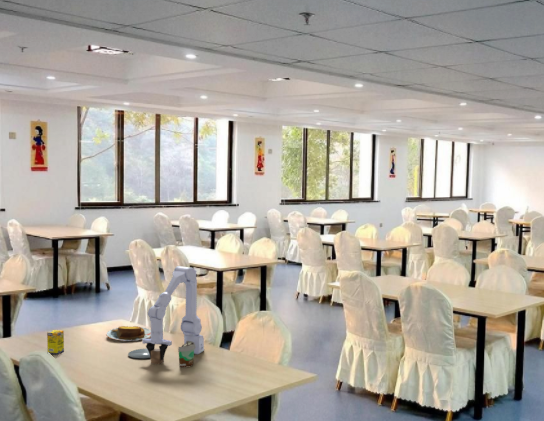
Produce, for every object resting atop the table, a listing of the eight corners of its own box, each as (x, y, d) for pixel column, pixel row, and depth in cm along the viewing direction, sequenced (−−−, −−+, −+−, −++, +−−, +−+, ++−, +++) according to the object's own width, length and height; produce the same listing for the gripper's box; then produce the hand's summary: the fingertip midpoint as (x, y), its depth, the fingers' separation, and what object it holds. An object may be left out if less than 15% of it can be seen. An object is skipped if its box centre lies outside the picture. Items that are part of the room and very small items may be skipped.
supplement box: (57, 354, 335) (57, 333, 334) (47, 354, 337) (46, 332, 336) (64, 351, 341) (63, 330, 340) (54, 350, 342) (53, 329, 342)
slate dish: (166, 351, 339) (166, 349, 339) (151, 360, 324) (151, 358, 324) (138, 349, 344) (138, 347, 344) (122, 358, 329) (122, 356, 329)
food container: (191, 369, 311) (190, 347, 310) (178, 368, 312) (178, 347, 311) (199, 361, 323) (198, 340, 322) (187, 360, 324) (186, 340, 323)
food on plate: (150, 330, 385) (150, 319, 385) (156, 341, 362) (156, 329, 361) (104, 333, 378) (104, 322, 377) (107, 345, 354) (107, 332, 354)
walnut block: (163, 361, 323) (163, 349, 322) (159, 364, 318) (159, 351, 318) (155, 360, 324) (155, 348, 323) (150, 363, 320) (150, 351, 319)
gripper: (139, 332, 318) (139, 360, 319) (166, 334, 314) (167, 362, 315) (146, 328, 325) (146, 356, 326) (173, 330, 321) (173, 358, 322)
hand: (157, 359), depth 321 cm, fingers closed on walnut block, 4 cm apart
